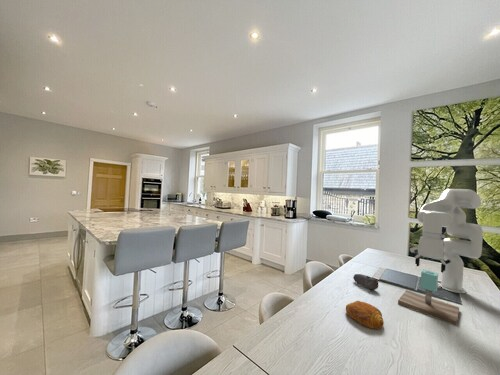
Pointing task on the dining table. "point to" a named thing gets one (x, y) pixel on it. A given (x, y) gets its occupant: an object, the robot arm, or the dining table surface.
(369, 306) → the croissant
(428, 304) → the stud board
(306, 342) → the dining table surface
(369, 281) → the perforated stone tool
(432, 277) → the teal block
